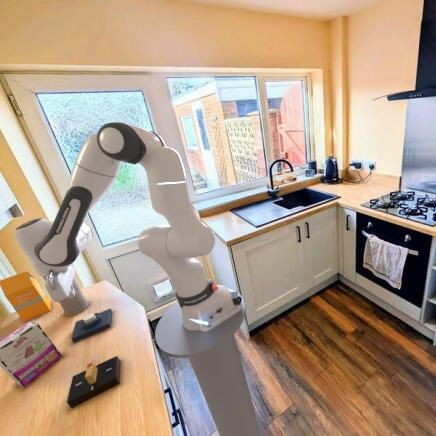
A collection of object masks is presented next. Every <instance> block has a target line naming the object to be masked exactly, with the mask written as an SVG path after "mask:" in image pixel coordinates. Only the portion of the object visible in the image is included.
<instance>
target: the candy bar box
mask: <svg viewBox="0 0 436 436" xmlns="http://www.w3.org/2000/svg"><path fill="white" fill-rule="evenodd" d="M62 358H63V354H61V352H60V351H59V349H58V348H57V346H56V345H55V344H54V343H53V342H52V340H51V339H50V337H49V336H48V334H47V333H46V332H45V331H44V329H43V328H42V326H41V325H40V324H39V323H38V322H33V321H30V320H28V322H27V323H26V322H25V324H23V325H22V326H20V327H18V328H17V329H16V330H14V331H12V332H11V333H9V334H8V335H5V337H3V338H1V339H0V367H1V369H2V370H3V371H4V372H6V374H7V375H8V376H9V377H10V379H12V380H13V381H14V383H15V384H17V385H19V386H21V387H23V388H26V387H28V386H29V385H30V384H31V383H32V382H34V381H35V380H36V379H38V377H40V376H41V375H42V374H43V373H45V372H46V371H47V370H48V369H50V368H51V367H52V366H54V364H56V363H57V362H58V361H60V359H62Z"/></svg>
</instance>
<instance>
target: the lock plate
mask: <svg viewBox="0 0 436 436" xmlns="http://www.w3.org/2000/svg"><path fill="white" fill-rule="evenodd" d="M95 366H96V367H97V369H98V370H97V377H96V383H93V384H91V385H90V384H89V383H88V381H87V380H86V378H85V375H86V370H87V369H85V370H83V371H81V372H79V373H77V374H75V375H73V376H72V378H71V383H70V386H69V391H68V394H67V399H66V403H67V404H68V406H69V408H70V409H74V408H76V407H78V406H80V405H82V404H83V403H86V402H88V401H89V400H91V399H93V398H95V397H98V396H99V395H101V394H104V393H105V392H107V391H109V390H111V389H113V388H115V387H117V386H119V385H120V384H121V369H122V368H121V367H122V361H121V359H120V357H119V355H115V356H113V357H111V358H109V359H107V360H105V361H103V362H101V363H98V364H95Z"/></svg>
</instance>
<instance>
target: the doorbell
mask: <svg viewBox="0 0 436 436" xmlns="http://www.w3.org/2000/svg"><path fill="white" fill-rule="evenodd" d="M93 313H94V315H95V316H96V319H95V320H93V321H92V322H90V323H85V322H84V320H83V318H82V319H80V320H77V321H75V323H74V327H73V331H72V334H71V338H70V340H71V341H72V343H73V344H74V343H78V342H79V341H82V340H84V339H87V338H90V337H91V336H94V335H96V334H99V333H102V332H104V331H106V330H108V329H111V328H112V323H113V322H112V321H113V310H112V308H108V309H105V310H103V311H100V312H93Z"/></svg>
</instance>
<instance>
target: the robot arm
mask: <svg viewBox="0 0 436 436" xmlns="http://www.w3.org/2000/svg"><path fill="white" fill-rule="evenodd" d="M163 139H164V138H162V137H161V135H159V134H157V133H156V132H154V131H151V130H148V129H145V128H143V127H142V126H138V125H134V124H128V123H125V122H119V121H118V122H117V121H116V122H115V121H113V122H107V123H105V124H103V125H102V126H100V128H99V129H98V131H97V132H96V133H91V134H89V136H87V138H86V139H85V140H84V142H83V144H82V146H81V147H80V149H79V151H78V154H77V155H76V157H75V161H74V164H73V167H72V170H71V173H70V177H69V181H68V184H67V188H66V190H65V194H64V197H63V200H62V202H61V204H60V206H59V209H58V211H57V213H56V215H55V218H54V221H53V220H49V219H46V218H43V217H40V218H34V219H32V220H28V221H26V222H24V223H22V224H20V225H19V226H17V227H16V228H14V229H15V230H13V231H14V232H13V234H14V237H15V240H16V242H17V244H18V246H19V247H20V249H21V251H22V252H23V254H24V255H26V256H27V257H28V259H29V261H30V264H31V266H32V268H33V269H34V270H35V272H36V273H37V275H38V276H39V277H42V278H43V276H46V278H47V279H46V281H45V280H44V287H45V290H46V291H47V293H48V295H49V297H50V299H51V300H52V301H53V302H54V303H59V302H58V301H61V300H64V299H66V298H69V299H71V298H73V297H75V293H76V292H75V290H74V287H73V284H72V282H73V278H74V279H75V275H76V268H75V265H74V262H75V261H76V260H77V258H78V257H79V256H80V254H81V253H82V252H83V251H84V250H85V248H86V247H87V246H88V245H89V243H90V242H91V241H92V239H93V238H94V237H93V235H94V233H93V230H92V229H91V227H90V226H89V225H87V224H86V223H84V222H85V220H86V217H87V215H88V214H89V212H90V211H91V210H92V208H93V207H94V206H96V204H97V203H98V202H99V201H101V200H102V199H103V198H104V197H105V196H106V195H108V193H109V192H110V190H111V189H112V188H113V186H114V184H115V183H116V181H117V178H118V176H119V173H120V170H121V168H122V166H123V164H124V163H125V164H126V163H127V164H131V165H137V164H139V165H140V166H142V167H143V169H144V171H145V173H146V178H147V184H148V185H147V186H148V190H149V196H150V202H151V207H152V210H154V212H155V213H156V214H159V215H160V216H162V217H163V218H164V219H165V220H166V221H167V222H168V224H162V225H161V224H160V225H155V226H154V225H153V226H151V227H148V228H145V229H143V230H142V231H141V233H140V234H139V236H138V239H137V246H138V249H139V251H140V252H141V254H143V255H144V256H146V257H147V258H150V259H152V260H153V261H154V262H156V263H157V265H159V267H161V268H162V269H163V271H164V272H165V273H166V274H167V275H168V277H169V279H170V280H171V283H172V285H173V288H174V290H175V298H176V302H177V301H178V303H179V306H180V307H181V309H182V315H183V326H184V327H185V328H186V329H187V330H190V331H202V332H205V333H207V332H209V331H211V330H212V329H214V328H215V327H217V326H218V325H220V324H221V323H223V322H224V321H226V320H227V319H229V318H230V317H232V316H233V315H235V314H236V313H238V312H239V311H240V310H241V308H242V304H241V301H242V298H243V297H242V298H241V297H240V296H238V294H237V292H238V291H237V290H235V292H233V291H230V290H229V289H228V288H229V287H227V286H226V285H223V284H216V283H215V281H214V280H213V279H212V278H211V276H208V277H209V278H208V277H207V274H206V271H205V267H204V265H203V264H202V262H201V261H200V260H198V259H196V258H199V257H200V258H201V257H204V256H208V255H210V253H212V251H213V250H214V249H215V245H216V235H215V233H214V231H213V230H212V228H211V227H209V226H208V225H207V224H205V223H204V222H202V221H201V219H200V218H199V217H198V216H197V214H196V212H195V211H194V208H193V206H192V204H191V199H190V195H189V189H188V181H187V177H186V176H187V175H186V172H185V168H184V165H183V161H182V159H181V155H180V154H179V152H178V151H177V150H176V149H174V148H172V147H168V146H166V143H165V140H163Z"/></svg>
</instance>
